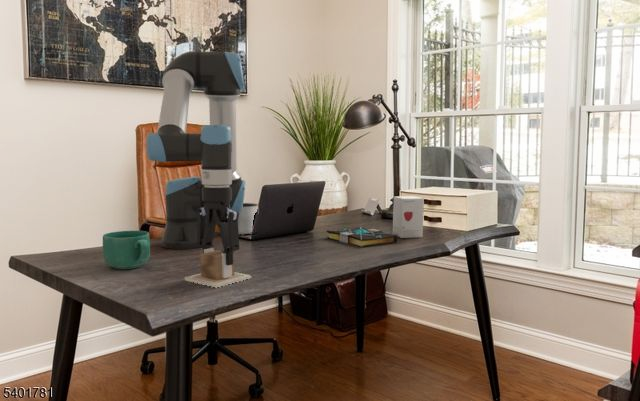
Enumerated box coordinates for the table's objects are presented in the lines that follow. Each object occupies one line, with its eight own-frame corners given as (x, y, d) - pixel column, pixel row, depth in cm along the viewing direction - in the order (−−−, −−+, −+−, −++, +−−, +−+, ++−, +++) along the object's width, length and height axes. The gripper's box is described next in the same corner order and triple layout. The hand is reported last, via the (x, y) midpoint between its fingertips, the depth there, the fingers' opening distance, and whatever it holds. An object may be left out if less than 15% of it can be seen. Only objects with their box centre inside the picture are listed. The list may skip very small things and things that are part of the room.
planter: (222, 231, 212) (221, 203, 211) (252, 229, 218) (251, 202, 217) (231, 236, 201) (231, 207, 200) (263, 234, 207) (263, 205, 206)
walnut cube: (201, 276, 138) (200, 253, 137) (218, 272, 143) (218, 250, 142) (216, 280, 134) (216, 257, 134) (234, 275, 139) (234, 253, 138)
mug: (96, 266, 153) (95, 233, 152) (138, 259, 161) (137, 228, 160) (121, 277, 141) (120, 241, 140) (165, 269, 150) (164, 235, 149)
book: (398, 244, 191) (398, 230, 190) (361, 249, 181) (361, 234, 181) (360, 235, 209) (360, 222, 208) (325, 239, 199) (325, 226, 199)
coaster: (184, 280, 138) (184, 277, 138) (220, 271, 147) (219, 268, 147) (216, 288, 130) (216, 284, 130) (251, 278, 140) (251, 275, 140)
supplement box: (400, 238, 200) (401, 198, 198) (392, 234, 208) (392, 196, 207) (423, 237, 202) (424, 198, 200) (413, 233, 210) (414, 195, 209)
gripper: (181, 185, 139) (182, 272, 141) (231, 189, 127) (232, 284, 130) (203, 183, 145) (205, 267, 147) (254, 187, 133) (254, 278, 136)
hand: (218, 275), depth 138 cm, fingers closed on walnut cube, 6 cm apart
